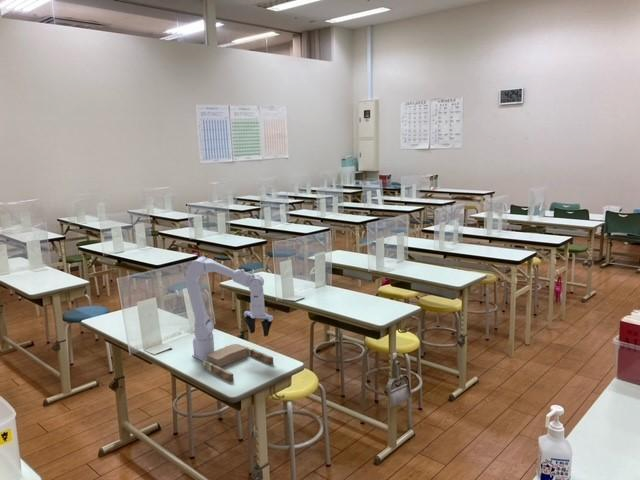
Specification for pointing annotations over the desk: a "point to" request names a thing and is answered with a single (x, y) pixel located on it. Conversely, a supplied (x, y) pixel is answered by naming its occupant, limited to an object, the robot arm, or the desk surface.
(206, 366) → the lane
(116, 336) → the desk surface
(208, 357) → the brick
